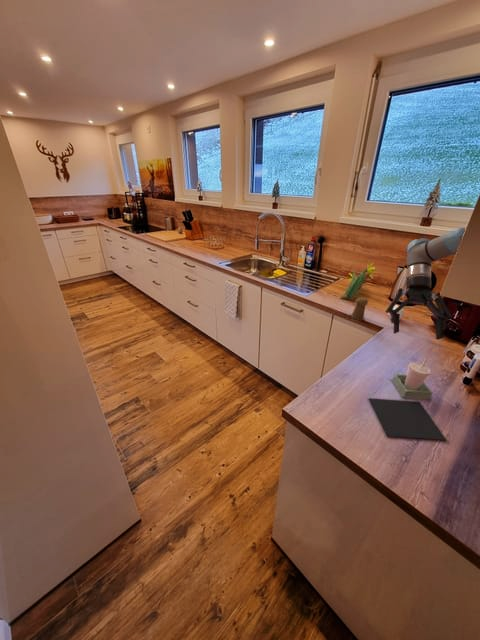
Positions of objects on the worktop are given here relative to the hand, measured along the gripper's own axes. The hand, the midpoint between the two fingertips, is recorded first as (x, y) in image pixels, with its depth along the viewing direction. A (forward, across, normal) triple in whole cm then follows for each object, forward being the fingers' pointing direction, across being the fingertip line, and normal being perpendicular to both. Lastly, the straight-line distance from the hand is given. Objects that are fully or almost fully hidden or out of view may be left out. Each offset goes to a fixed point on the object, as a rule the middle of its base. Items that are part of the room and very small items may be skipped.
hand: (417, 335), depth 90 cm
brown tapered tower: (-18, +10, -41) cm, 46 cm away
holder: (+18, 0, -5) cm, 19 cm away
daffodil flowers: (-43, +6, -67) cm, 80 cm away
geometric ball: (-21, -8, -44) cm, 50 cm away
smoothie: (+18, 0, -5) cm, 19 cm away
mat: (+28, +6, +5) cm, 29 cm away
